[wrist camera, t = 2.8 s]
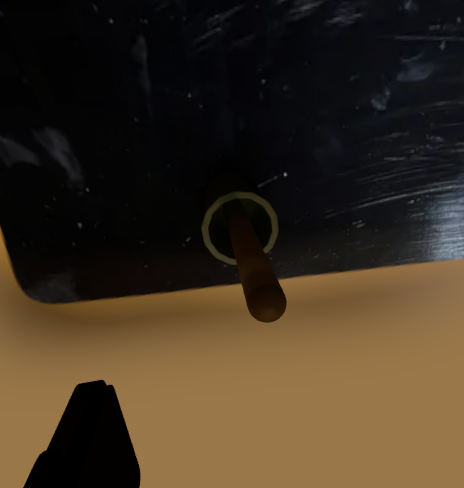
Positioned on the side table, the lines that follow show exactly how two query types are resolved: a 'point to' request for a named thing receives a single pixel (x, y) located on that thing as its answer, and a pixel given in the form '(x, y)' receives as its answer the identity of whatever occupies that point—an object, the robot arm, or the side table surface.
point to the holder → (254, 206)
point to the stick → (253, 266)
